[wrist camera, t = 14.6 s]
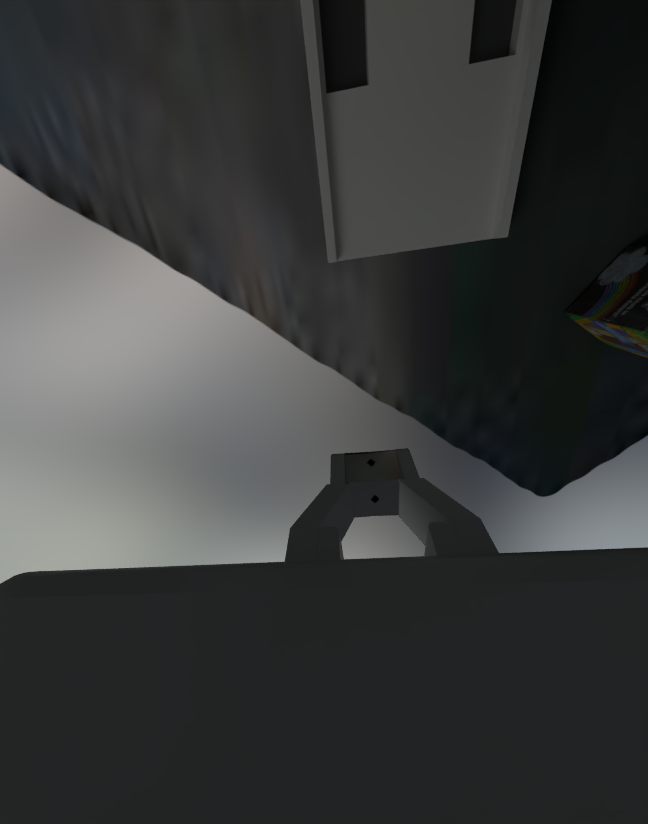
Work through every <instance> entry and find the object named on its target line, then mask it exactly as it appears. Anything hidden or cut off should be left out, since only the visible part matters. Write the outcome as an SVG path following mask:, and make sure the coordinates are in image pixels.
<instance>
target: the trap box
mask: <svg viewBox="0 0 648 824" xmlns="http://www.w3.org/2000/svg"><path fill="white" fill-rule="evenodd" d="M300 2H301V12H302V21H303V30H304V40H305V49H306V59H307V68H308V77H309V87H310V96H311V106H312V115H313V124H314V134H315V143H316V153H317V162H318V171H319V181H320V190H321V200H322V209H323V219H324V228H325V237H326V247H327V256H328V263H332V262H337V261H342V260H348V259H355V258H362V257H369V256H376V255H383V254H389V253H396V252H403V251H410V250H417V249H424V248H431V247H437V246H444V245H451V244H458V243H465V242H472V241H478V240H485V239H493V238H503V237H508V232H509V227H510V222H511V216H512V211H513V205H514V200H515V195H516V189H517V184H518V179H519V173H520V168H521V163H522V157H523V152H524V147H525V141H526V136H527V131H528V125H529V120H530V115H531V109H532V104H533V98H534V93H535V88H536V82H537V77H538V72H539V66H540V61H541V56H542V50H543V45H544V40H545V34H546V29H547V24H548V18H549V13H550V7H551V2H552V0H300Z"/></svg>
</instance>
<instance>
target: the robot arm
mask: <svg viewBox="0 0 648 824" xmlns="http://www.w3.org/2000/svg"><path fill="white" fill-rule="evenodd" d="M382 515H383V516H384V515H399V517H400V518H401V519H402V520H403V521H404V523H405V524H406V525H407V526H408V527H409V528H410V529H411V530H412V531H413V533H415V534H416V536H417V537H418V538H419V539H420V540H421V541H422V542H423V544H424V545H425V546H426V548H425V556H421V557H397V558H372V559H345V560H344V558H343V551H342V545H341V541H342V539H343V537H344V536H345V534H346V532H347V530H348V528H349V527H350V525H351V523H352V521H353V518H354V517H366V516H382ZM0 824H648V548H623V549H598V550H573V551H549V552H548V551H547V552H524V553H523V552H522V553H499V552H498V551H497V549H496V547H495V545H494V543H493V541H492V539H491V538H490V536H489V534H488V532H487V530H486V528H485V526H484V525H483V523H482V521H481V519H480V518H479V517H477V516H476V515H474V514H473V513H472V512H470V511H469V510H467V509H466V508H465V507H463V506H462V505H461V504H459V503H458V502H456V501H455V500H453V499H452V498H450V497H449V496H448V495H447V494H445V493H444V492H442V491H441V490H440V489H438V488H437V487H435V486H434V485H432V484H431V483H430V482H428V481H427V480H426V479H424V478H419V475H418V472H417V470H416V467H415V465H414V462H413V459H412V456H411V454H410V451H409V449H408V448H406V449H396V450H387V451H375V452H359V453H344V454H332V455H331V478H330V484H328V485H326V486H325V487H324V488H323V490H322V491H321V492H320V493H319V495H318V496H317V497H316V498H315V499H314V501H313V502H312V503H311V504H310V505H309V506H308V508H307V509H306V510H305V511H304V512H303V514H302V515H301V516H300V517H299V518H298V520H297V521H296V522H295V523H294V524H293V526H292V527H291V528H290V533H289V539H288V545H287V551H286V557H285V562H268V563H243V564H220V565H194V566H168V567H144V568H119V569H92V570H65V571H37V572H27V573H22V574H19V575H16V576H13V577H12V578H10V579H8V580H6V581H5V582H3V583H1V584H0Z"/></svg>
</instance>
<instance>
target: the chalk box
mask: <svg viewBox="0 0 648 824" xmlns="http://www.w3.org/2000/svg"><path fill="white" fill-rule="evenodd" d="M565 313H566V315H567V316H569V317H570V318H571V319H573V320H574V321H575V322H577V323H578V324H579V325H580V326H582V327H583V328H584V329H586V330H587V331H588V332H590V333H591V334H592V335H594V336H595V337H597V338H598V339H599V340H601V341H602V342H603V343H605V344H607V345H610V346H613V347H616V348H619V349H623V350H626V351H629V352H632V353H635V354H638V355H641V356H644V357H647V358H648V245H640V246H627V247H626V248H625V249H624V250H623V251H622V252H621V254H619V255H618V257H617V258H616V259H615V260H614V261H613V262H612V263H611V264H610V265H609V266H608V267H607V268H606V269H605V270H604V271H603V272H602V273H601V274H600V275H599V276H598V277H597V278H596V279H595V280H594V281H593V282H592V283H591V285H590V286H589V287H588V288H587V289H586V290H585V291H584V292H583V293H582V294H581V295H580V296H579V297H578V298H577V299H576V300H575V301H574V302H573V303H572V304H571V305H570V306H569V307H568V308H567V309H566V310H565Z"/></svg>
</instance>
